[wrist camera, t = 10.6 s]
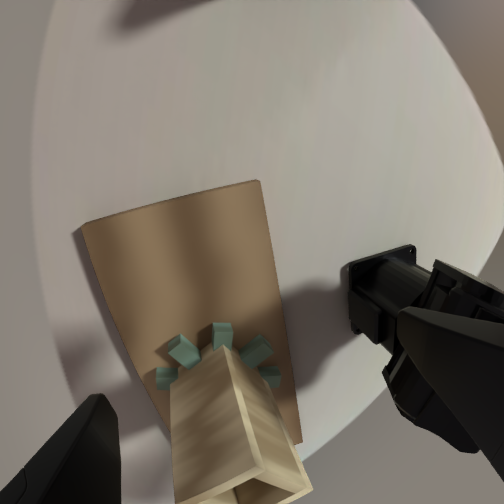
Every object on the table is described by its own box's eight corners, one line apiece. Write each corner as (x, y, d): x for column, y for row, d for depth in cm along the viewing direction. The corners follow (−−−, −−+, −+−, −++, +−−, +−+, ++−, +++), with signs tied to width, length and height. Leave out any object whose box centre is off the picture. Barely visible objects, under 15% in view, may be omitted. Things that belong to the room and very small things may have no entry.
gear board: (255, 179, 20) (260, 180, 18) (299, 434, 28) (302, 442, 27) (86, 222, 18) (80, 226, 17) (192, 460, 26) (193, 469, 25)
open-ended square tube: (223, 297, 20) (265, 424, 10) (298, 370, 23) (359, 477, 13) (132, 372, 20) (118, 500, 10) (214, 428, 24) (237, 538, 13)
